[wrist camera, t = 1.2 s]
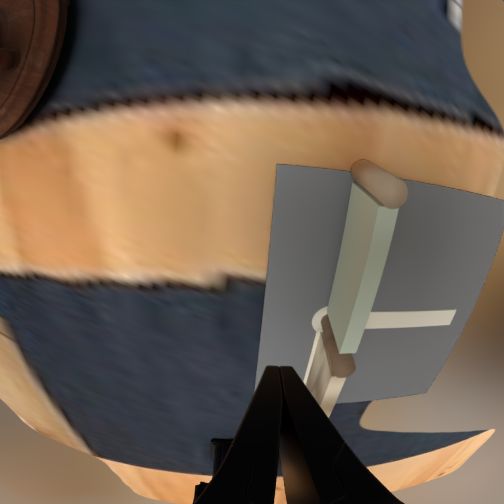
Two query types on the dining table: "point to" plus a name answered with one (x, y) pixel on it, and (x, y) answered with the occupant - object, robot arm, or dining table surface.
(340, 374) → the fence fixed section
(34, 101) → the brown round-based upright piece
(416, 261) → the card
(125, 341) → the dining table surface
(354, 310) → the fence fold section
